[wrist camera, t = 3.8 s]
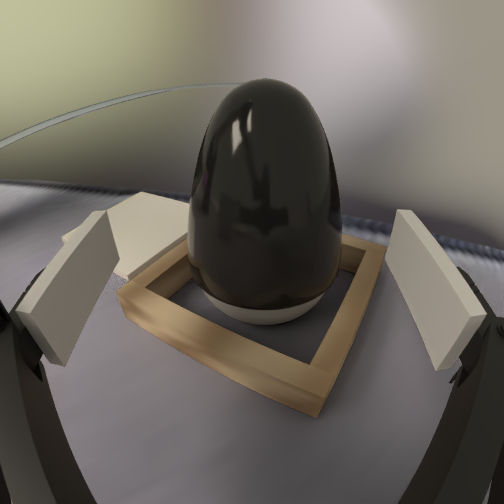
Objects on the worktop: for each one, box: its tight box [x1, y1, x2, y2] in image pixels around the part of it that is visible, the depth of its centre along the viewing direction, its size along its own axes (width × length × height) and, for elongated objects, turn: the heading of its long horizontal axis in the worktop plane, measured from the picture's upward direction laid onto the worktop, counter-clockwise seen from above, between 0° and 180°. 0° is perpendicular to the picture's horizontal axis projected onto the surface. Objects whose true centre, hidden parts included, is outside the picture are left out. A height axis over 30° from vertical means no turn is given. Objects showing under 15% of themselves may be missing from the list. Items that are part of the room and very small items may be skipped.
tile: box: [62, 192, 189, 281], centre depth 31 cm, size 13×13×1 cm
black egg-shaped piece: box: [187, 78, 342, 325], centre depth 19 cm, size 10×10×15 cm
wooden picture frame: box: [116, 234, 386, 418], centre depth 22 cm, size 15×15×2 cm
